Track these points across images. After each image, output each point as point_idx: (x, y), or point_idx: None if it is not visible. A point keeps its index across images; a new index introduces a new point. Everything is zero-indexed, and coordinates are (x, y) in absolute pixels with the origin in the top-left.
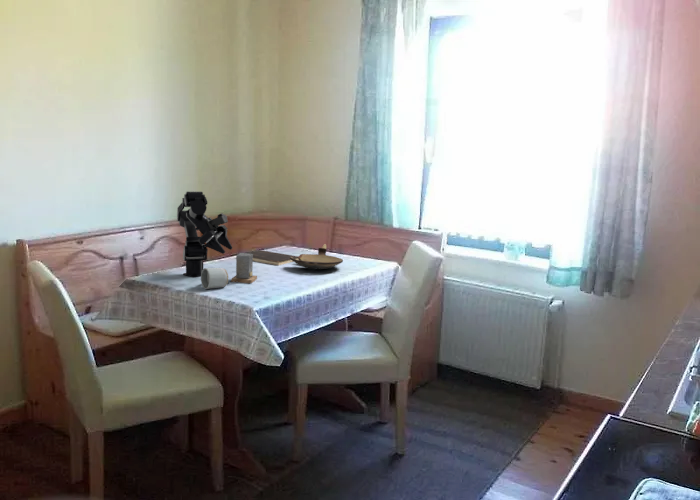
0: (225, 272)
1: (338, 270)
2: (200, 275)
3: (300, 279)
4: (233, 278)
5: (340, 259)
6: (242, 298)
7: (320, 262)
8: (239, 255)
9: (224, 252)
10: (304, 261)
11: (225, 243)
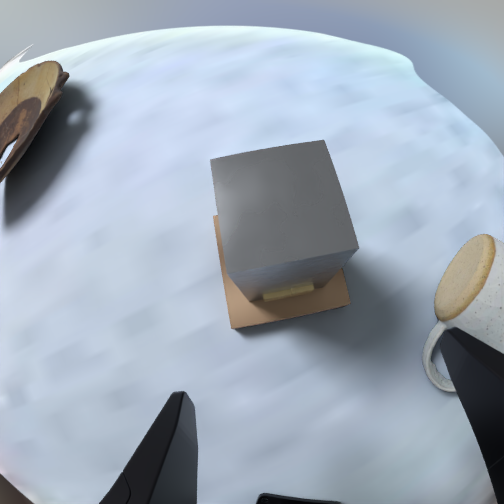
0: (496, 240)
1: None
2: (302, 499)
3: (159, 91)
4: (337, 296)
5: (2, 93)
6: (496, 150)
7: (60, 69)
8: (349, 218)
9: (453, 331)
10: (49, 102)
11: (182, 488)
